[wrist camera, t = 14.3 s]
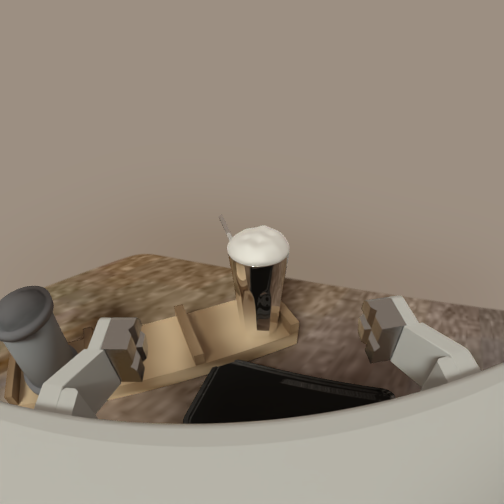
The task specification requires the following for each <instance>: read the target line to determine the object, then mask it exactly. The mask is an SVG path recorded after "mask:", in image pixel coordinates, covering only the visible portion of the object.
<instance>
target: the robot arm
mask: <svg viewBox="0 0 504 504" xmlns="http://www.w3.org/2000/svg"><path fill="white" fill-rule="evenodd" d="M361 309H362V311H363V314H362V315H361V316H360V317H359V321H358V333H359V337H360V339H361V342H363V343H364V344H366V348H365V352H366V354H367V356H368V359H369V361H370V363H376V362H382V361H388V360H391V362H392V363H393V364H395V365H396V366H397V367H398V368H399V369H401V370H402V371H403V372H404V373H405V374H406V375H408V376H409V377H410V378H411V379H412V380H414V381H415V382H416V383H417V384H418V385H420V386H421V387H422V389H421V390H420V392H417V393H413V394H409V395H406V396H402V397H398V398H394V399H390V400H386V401H382V402H377V403H373V404H368V405H364V406H359V407H354V408H349V409H344V410H338V411H332V412H326V413H320V414H314V415H307V416H300V417H292V418H283V419H274V420H263V421H251V422H235V423H211V424H164V423H140V422H125V421H113V420H103V419H98V418H97V416H96V415H95V414H96V413H97V412H98V411H99V409H100V408H101V407H102V406H103V405H104V403H105V402H106V401H107V400H108V399H109V397H110V396H111V395H112V394H113V393H114V391H115V390H116V389H117V388H118V387H119V385H120V384H121V382H142V381H143V376H144V371H145V367H144V364H143V362H144V361H145V360H146V359H147V355H148V343H147V338H146V335H145V334H144V333H143V332H142V331H141V328H142V324H141V321H140V319H139V318H114V317H113V318H100V319H99V320H98V322H97V325H96V328H95V330H94V333H93V335H92V338H91V341H90V343H89V346H88V349H84V350H82V351H81V352H80V353H79V354H78V355H76V356H75V357H74V358H73V359H72V360H70V361H69V362H68V363H67V364H66V365H64V366H63V367H62V368H61V369H60V370H59V371H57V372H56V373H55V374H54V375H53V376H52V377H50V378H49V379H48V380H47V381H46V382H44V383H43V385H42V388H41V391H40V393H39V396H38V399H37V401H36V404H35V407H34V409H32V408H27V407H22V406H18V405H13V404H9V403H5V402H1V401H0V504H504V362H503V363H500V364H498V365H496V366H493V367H491V368H488V369H486V370H483V371H481V370H480V368H479V366H478V365H477V363H476V361H475V360H474V358H473V356H472V355H471V353H470V352H469V350H468V349H467V348H465V347H463V346H462V345H460V344H458V343H456V342H455V341H453V340H451V339H450V338H448V337H446V336H445V335H443V334H441V333H439V332H438V331H436V330H434V329H433V328H431V327H429V326H427V325H426V324H424V323H419V322H418V320H417V319H416V317H415V316H414V314H413V312H412V311H411V309H410V308H409V306H408V305H407V303H406V301H405V300H404V298H403V297H402V296H400V295H398V296H392V297H386V298H379V299H372V300H365V301H364V302H363V304H362V308H361Z"/></svg>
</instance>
